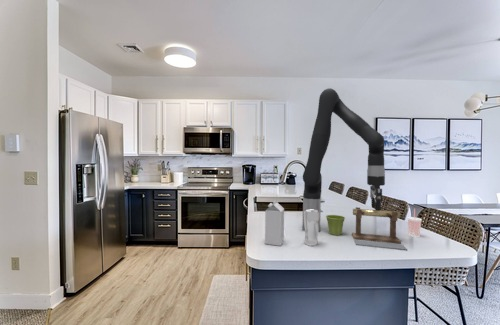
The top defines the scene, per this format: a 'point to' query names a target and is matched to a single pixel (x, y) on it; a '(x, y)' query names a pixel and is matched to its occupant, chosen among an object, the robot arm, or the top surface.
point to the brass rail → (376, 213)
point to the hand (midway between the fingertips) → (375, 208)
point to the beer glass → (311, 226)
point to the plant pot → (335, 224)
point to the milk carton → (274, 224)
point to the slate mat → (380, 245)
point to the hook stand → (378, 238)
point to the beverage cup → (414, 226)
